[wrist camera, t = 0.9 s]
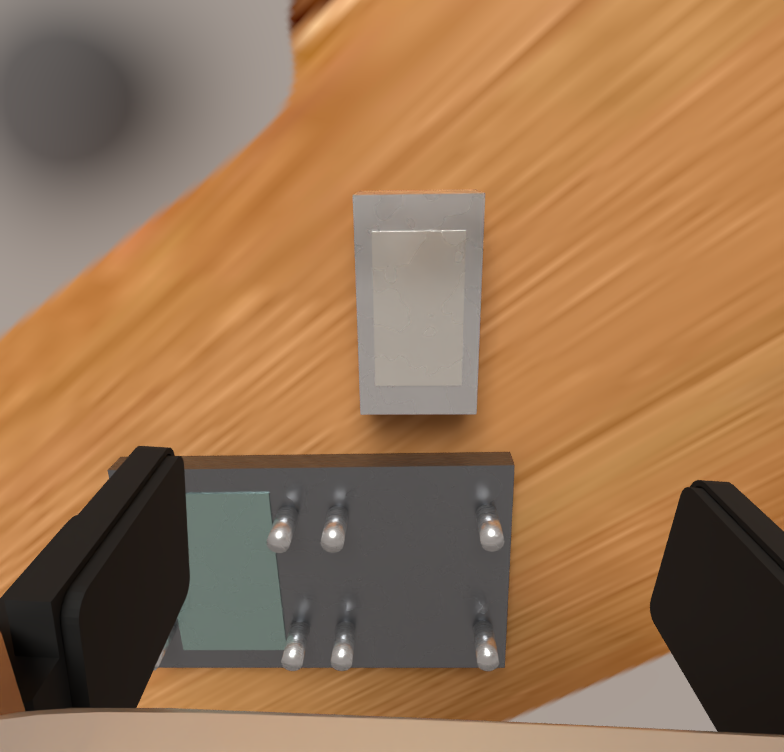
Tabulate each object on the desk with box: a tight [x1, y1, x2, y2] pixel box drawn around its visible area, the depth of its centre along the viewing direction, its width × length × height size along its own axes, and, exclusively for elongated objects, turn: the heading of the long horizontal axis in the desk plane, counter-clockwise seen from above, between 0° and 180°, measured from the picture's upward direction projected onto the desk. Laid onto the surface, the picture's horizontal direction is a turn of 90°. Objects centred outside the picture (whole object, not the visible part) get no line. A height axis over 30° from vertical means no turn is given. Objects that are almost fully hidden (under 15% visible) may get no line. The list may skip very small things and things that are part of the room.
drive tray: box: [108, 452, 514, 671], centre depth 33 cm, size 22×14×4 cm, turn 92°
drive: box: [353, 189, 485, 415], centre depth 28 cm, size 6×10×4 cm, turn 1°
